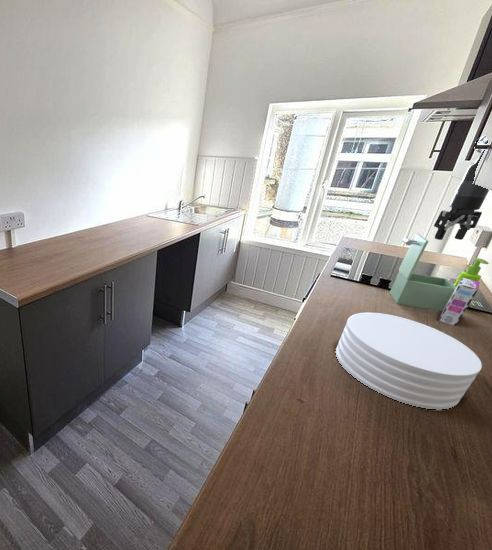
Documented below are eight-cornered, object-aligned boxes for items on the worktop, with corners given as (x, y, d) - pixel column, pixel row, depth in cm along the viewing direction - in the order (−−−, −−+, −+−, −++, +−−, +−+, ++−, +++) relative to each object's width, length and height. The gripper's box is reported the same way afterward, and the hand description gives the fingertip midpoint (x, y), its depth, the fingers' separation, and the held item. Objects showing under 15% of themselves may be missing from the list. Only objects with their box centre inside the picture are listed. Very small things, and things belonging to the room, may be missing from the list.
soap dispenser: (452, 304, 125) (477, 261, 117) (442, 297, 131) (465, 255, 123) (470, 307, 124) (496, 263, 115) (459, 299, 130) (483, 257, 121)
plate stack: (321, 365, 88) (333, 333, 83) (350, 331, 105) (362, 303, 100) (452, 430, 69) (478, 394, 64) (463, 376, 85) (484, 344, 81)
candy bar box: (455, 329, 108) (478, 289, 101) (436, 323, 111) (458, 284, 105) (458, 319, 115) (480, 281, 108) (440, 313, 118) (461, 276, 111)
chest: (434, 301, 128) (446, 278, 123) (445, 313, 118) (458, 289, 114) (389, 292, 134) (399, 270, 130) (396, 303, 125) (407, 280, 120)
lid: (418, 233, 123) (402, 231, 125) (428, 241, 113) (411, 238, 115) (400, 270, 130) (386, 267, 132) (409, 279, 120) (393, 276, 122)
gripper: (464, 196, 99) (442, 242, 105) (501, 196, 100) (476, 242, 107) (440, 192, 105) (420, 236, 112) (475, 193, 107) (453, 236, 114)
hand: (448, 239), depth 110 cm, fingers open, 8 cm apart
